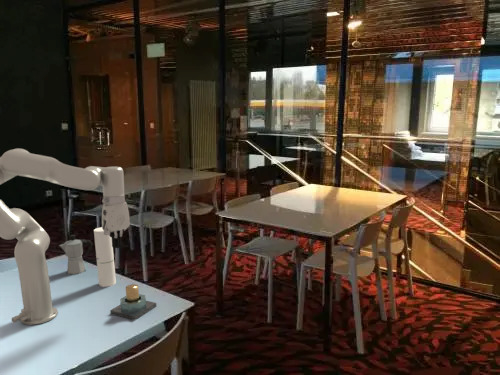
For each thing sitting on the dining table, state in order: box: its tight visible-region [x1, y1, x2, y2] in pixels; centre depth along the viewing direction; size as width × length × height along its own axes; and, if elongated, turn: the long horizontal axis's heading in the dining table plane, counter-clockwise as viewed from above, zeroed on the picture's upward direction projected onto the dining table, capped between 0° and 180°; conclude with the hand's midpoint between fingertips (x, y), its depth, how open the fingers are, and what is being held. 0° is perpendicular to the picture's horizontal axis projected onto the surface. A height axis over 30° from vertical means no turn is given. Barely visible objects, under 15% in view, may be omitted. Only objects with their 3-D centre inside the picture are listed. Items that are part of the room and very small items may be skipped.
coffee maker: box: [58, 234, 94, 276], centre depth 205 cm, size 15×9×18 cm, turn 114°
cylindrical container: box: [93, 226, 117, 288], centre depth 187 cm, size 7×7×25 cm
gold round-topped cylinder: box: [125, 283, 140, 303], centre depth 162 cm, size 5×5×8 cm
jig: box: [110, 293, 157, 321], centre depth 163 cm, size 12×12×4 cm
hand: (116, 247), depth 163 cm, fingers closed
